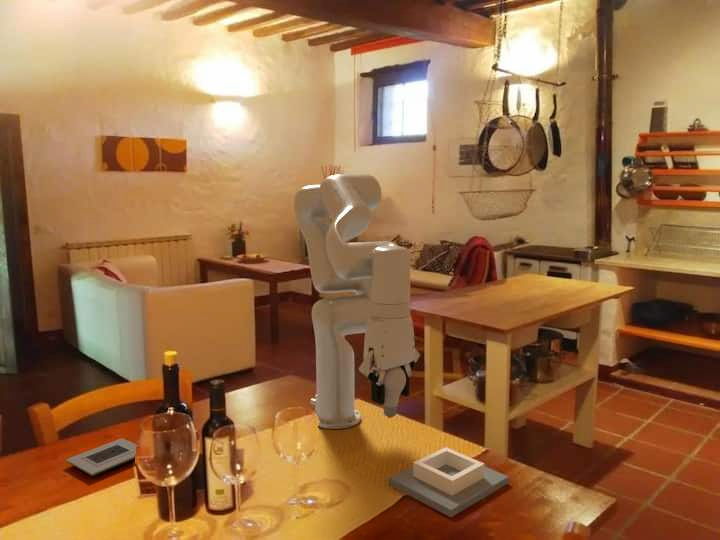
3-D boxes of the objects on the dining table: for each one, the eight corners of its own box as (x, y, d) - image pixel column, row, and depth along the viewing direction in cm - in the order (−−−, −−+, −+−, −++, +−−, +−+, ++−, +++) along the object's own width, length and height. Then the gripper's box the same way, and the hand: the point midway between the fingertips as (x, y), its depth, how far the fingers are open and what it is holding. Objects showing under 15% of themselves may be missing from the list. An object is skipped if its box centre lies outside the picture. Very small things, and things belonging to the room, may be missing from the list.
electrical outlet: (92, 483, 123) (91, 472, 122) (66, 468, 129) (65, 458, 129) (149, 459, 133) (148, 449, 133) (122, 446, 139) (122, 436, 139)
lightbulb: (399, 410, 124) (399, 358, 122) (409, 421, 118) (410, 367, 117) (370, 413, 122) (371, 361, 121) (380, 425, 117) (381, 370, 115)
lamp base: (388, 484, 121) (388, 463, 120) (446, 456, 133) (446, 437, 132) (450, 517, 109) (451, 494, 109) (508, 483, 121) (508, 462, 121)
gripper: (408, 300, 125) (407, 384, 128) (343, 313, 114) (344, 404, 117) (435, 306, 120) (433, 393, 122) (370, 320, 109) (370, 415, 111)
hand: (390, 397), depth 120 cm, fingers closed on lightbulb, 6 cm apart
